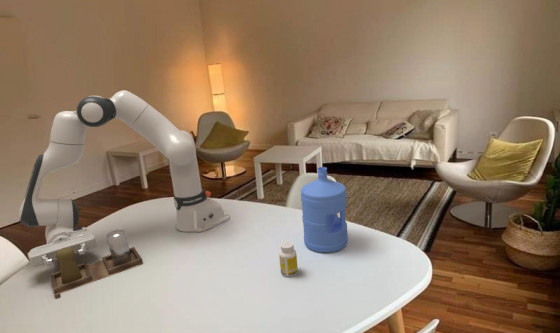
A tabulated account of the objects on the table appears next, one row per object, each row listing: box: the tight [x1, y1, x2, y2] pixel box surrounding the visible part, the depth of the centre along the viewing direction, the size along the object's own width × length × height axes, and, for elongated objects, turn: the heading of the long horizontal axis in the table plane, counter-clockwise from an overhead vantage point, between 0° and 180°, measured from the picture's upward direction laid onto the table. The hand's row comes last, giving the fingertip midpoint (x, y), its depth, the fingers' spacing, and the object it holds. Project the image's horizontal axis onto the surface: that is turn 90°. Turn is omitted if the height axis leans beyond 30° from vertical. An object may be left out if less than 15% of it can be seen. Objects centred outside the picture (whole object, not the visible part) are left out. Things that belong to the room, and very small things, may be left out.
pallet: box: [50, 246, 144, 299], centre depth 131 cm, size 27×13×3 cm, turn 123°
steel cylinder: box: [106, 228, 132, 266], centre depth 134 cm, size 6×6×11 cm
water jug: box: [300, 166, 349, 254], centre depth 135 cm, size 16×16×28 cm
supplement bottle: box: [278, 241, 299, 277], centre depth 121 cm, size 5×5×10 cm
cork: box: [56, 247, 82, 284], centre depth 125 cm, size 6×6×11 cm
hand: (65, 257), depth 127 cm, fingers open, 8 cm apart
